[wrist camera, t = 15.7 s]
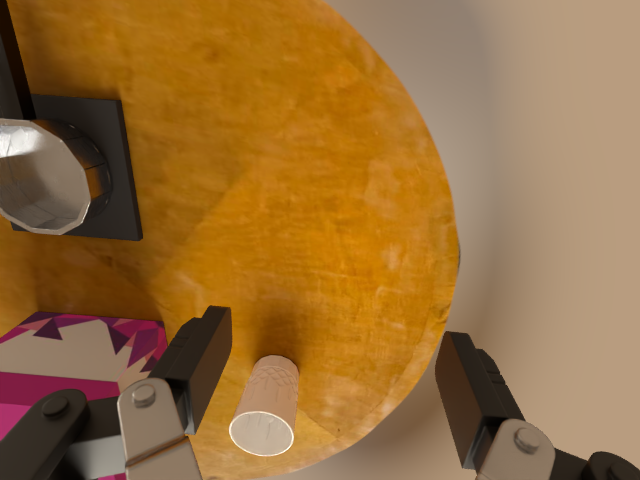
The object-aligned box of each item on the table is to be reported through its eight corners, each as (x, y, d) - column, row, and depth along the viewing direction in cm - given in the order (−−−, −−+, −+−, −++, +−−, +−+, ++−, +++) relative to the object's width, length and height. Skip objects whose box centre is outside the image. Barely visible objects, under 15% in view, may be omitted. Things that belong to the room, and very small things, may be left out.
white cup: (312, 364, 50) (304, 427, 41) (289, 399, 53) (277, 464, 44) (262, 343, 49) (242, 402, 40) (242, 379, 52) (219, 441, 43)
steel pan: (121, 225, 42) (99, 238, 38) (25, 216, 42) (-7, 229, 39) (81, 8, 33) (47, -2, 29) (-41, 1, 33) (-90, -10, 30)
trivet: (-24, 90, 38) (-33, 90, 37) (121, 100, 37) (115, 100, 36) (19, 227, 44) (13, 230, 43) (143, 237, 44) (138, 241, 43)
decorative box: (34, 309, 49) (-85, 395, 36) (165, 319, 48) (94, 412, 35) (68, 405, 57) (-19, 506, 43) (181, 415, 56) (128, 521, 43)
